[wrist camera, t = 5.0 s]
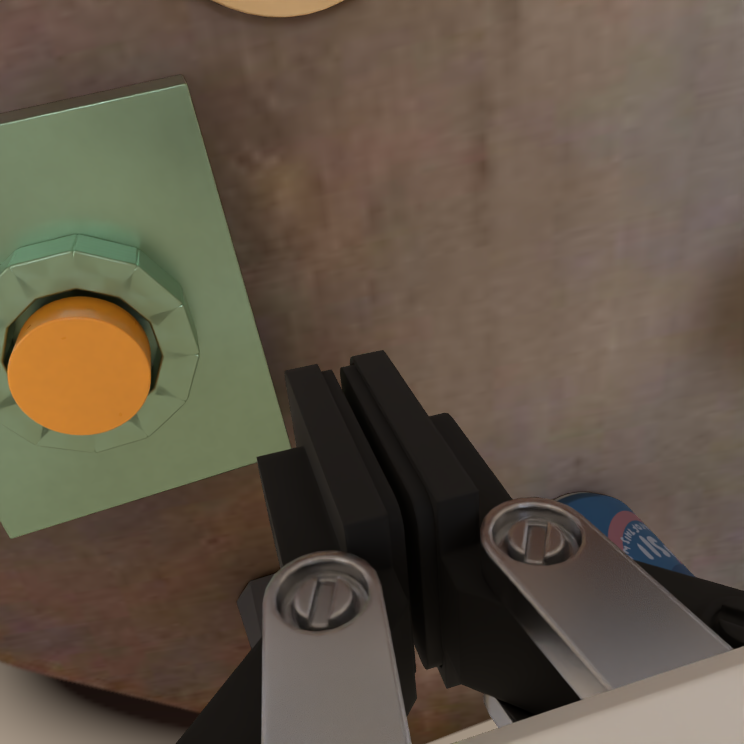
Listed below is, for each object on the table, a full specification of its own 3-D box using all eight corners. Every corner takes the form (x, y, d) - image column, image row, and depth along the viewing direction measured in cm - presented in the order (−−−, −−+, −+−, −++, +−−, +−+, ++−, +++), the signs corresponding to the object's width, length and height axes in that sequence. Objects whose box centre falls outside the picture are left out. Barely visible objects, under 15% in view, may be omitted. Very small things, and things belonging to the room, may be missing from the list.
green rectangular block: (-164, 148, 22) (-239, 182, 18) (182, 73, 24) (189, 88, 19) (23, 489, 29) (1, 573, 25) (279, 412, 31) (300, 477, 26)
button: (-7, 315, 21) (-18, 339, 20) (126, 281, 22) (124, 301, 20) (46, 423, 23) (40, 452, 22) (167, 388, 24) (168, 414, 22)
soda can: (643, 497, 40) (815, 667, 30) (578, 588, 42) (717, 777, 32) (553, 468, 37) (709, 646, 27) (487, 568, 39) (609, 769, 29)
